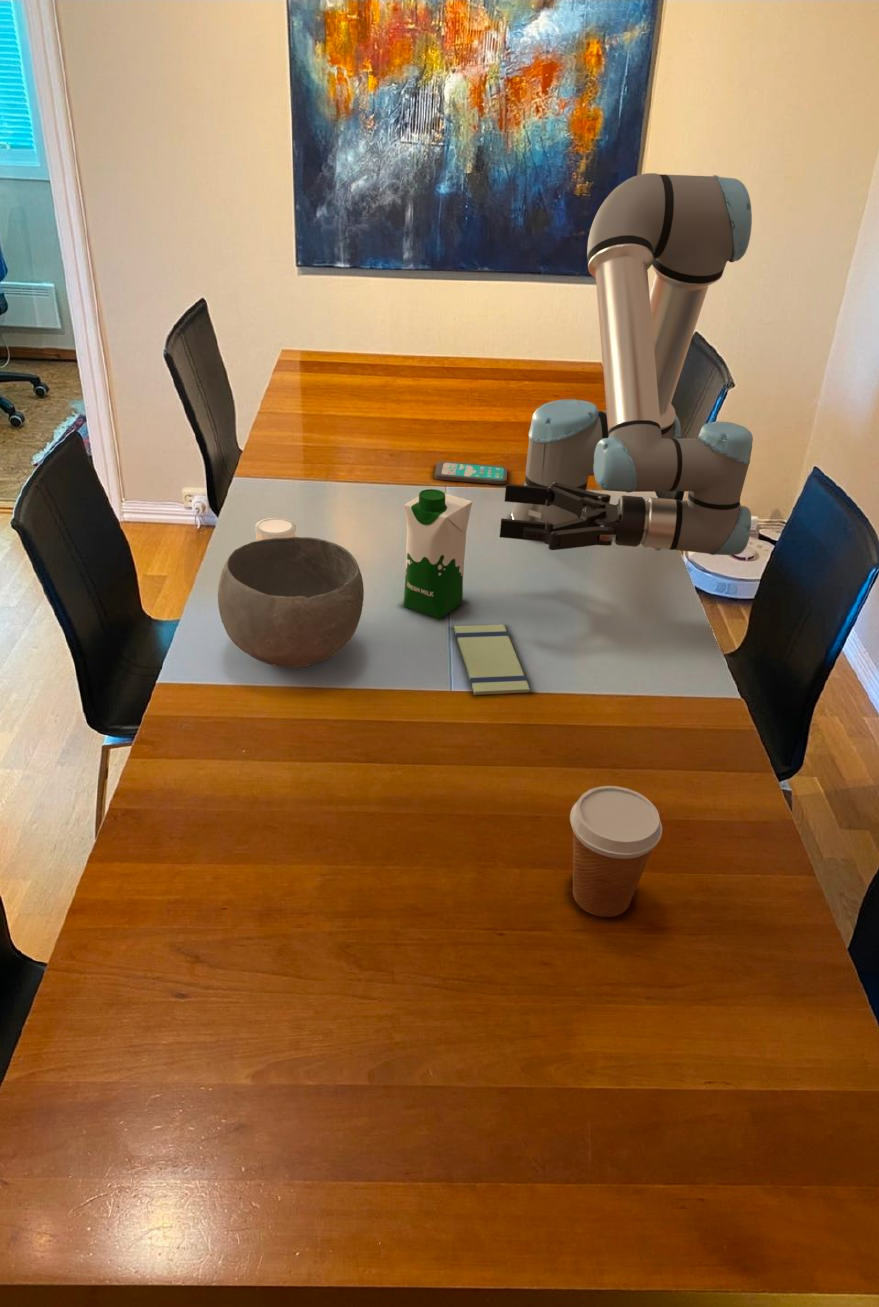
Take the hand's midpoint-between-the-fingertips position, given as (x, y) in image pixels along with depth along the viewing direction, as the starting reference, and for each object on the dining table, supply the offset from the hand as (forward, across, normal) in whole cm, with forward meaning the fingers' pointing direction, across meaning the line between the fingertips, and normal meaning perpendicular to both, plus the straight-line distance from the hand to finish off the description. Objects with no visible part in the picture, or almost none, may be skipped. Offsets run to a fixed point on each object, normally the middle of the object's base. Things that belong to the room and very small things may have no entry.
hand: (502, 509), depth 150 cm
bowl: (+29, -18, -18) cm, 39 cm away
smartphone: (+8, +57, -17) cm, 60 cm away
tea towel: (0, -15, -18) cm, 23 cm away
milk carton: (+10, 0, -18) cm, 20 cm away
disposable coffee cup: (-16, -60, -19) cm, 65 cm away
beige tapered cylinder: (+38, +9, -18) cm, 43 cm away
